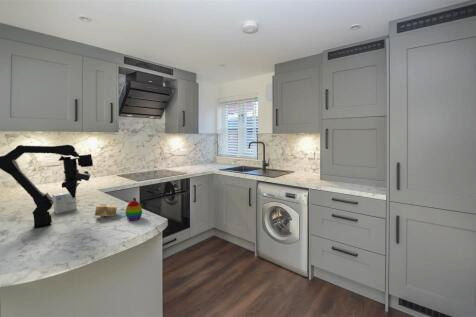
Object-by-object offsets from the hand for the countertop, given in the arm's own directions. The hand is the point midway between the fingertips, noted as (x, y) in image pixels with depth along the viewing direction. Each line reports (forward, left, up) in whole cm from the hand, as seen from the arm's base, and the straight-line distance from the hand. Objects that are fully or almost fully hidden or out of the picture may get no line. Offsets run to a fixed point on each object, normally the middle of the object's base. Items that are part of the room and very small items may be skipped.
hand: (74, 197), depth 132 cm
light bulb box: (-2, +26, -13) cm, 29 cm away
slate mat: (+17, -6, -12) cm, 22 cm away
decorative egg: (+24, -20, -13) cm, 34 cm away
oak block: (+9, -4, -8) cm, 12 cm away
